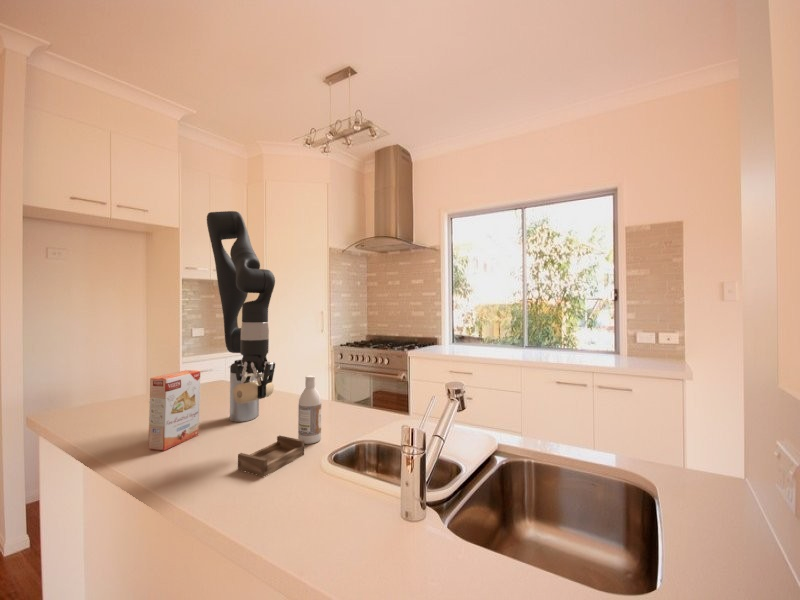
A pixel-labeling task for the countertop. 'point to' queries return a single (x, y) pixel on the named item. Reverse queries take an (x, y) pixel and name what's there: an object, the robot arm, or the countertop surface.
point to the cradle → (271, 456)
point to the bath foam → (309, 413)
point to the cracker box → (173, 409)
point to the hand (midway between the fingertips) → (253, 396)
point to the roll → (250, 392)
